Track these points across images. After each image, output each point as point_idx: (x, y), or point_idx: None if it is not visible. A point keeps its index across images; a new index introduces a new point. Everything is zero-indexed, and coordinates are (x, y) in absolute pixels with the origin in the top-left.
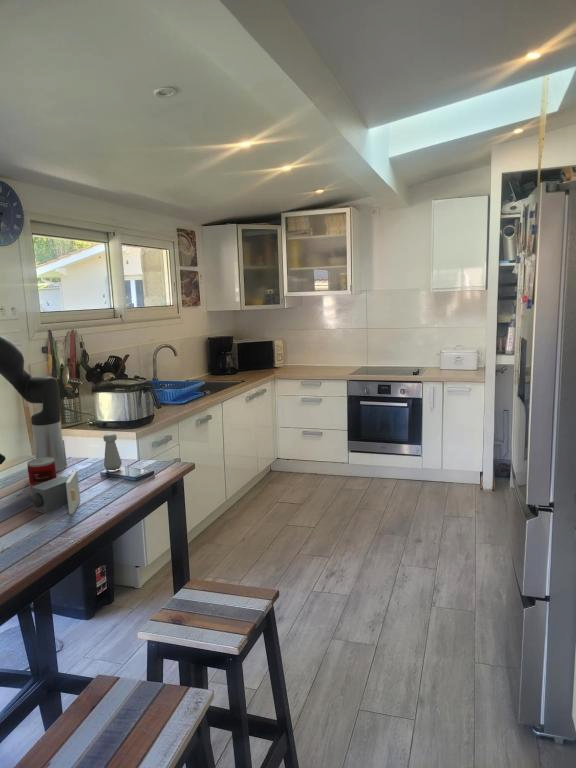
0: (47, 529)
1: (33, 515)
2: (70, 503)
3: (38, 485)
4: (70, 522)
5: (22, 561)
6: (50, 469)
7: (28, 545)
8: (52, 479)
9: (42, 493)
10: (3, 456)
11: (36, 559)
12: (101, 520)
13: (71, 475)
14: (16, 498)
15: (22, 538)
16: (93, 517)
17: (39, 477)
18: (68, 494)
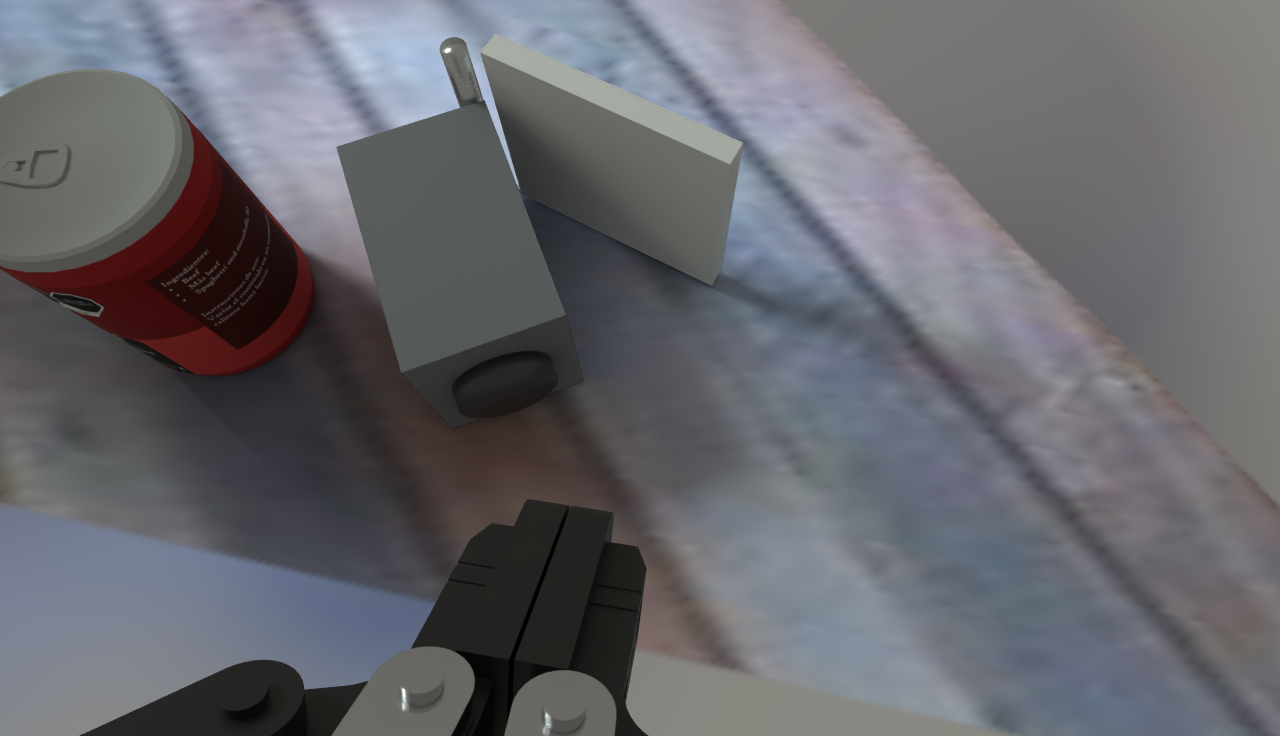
0: (846, 446)
1: (544, 453)
2: (724, 241)
3: (415, 318)
4: (827, 316)
5: (1261, 694)
6: (217, 159)
7: (1030, 603)
8: (362, 207)
9: (545, 336)
10: (601, 531)
11: (1274, 617)
12: (914, 186)
13: (578, 90)
14: (123, 462)
15: (891, 605)
16: (840, 203)
17: (220, 264)
18: (727, 211)
